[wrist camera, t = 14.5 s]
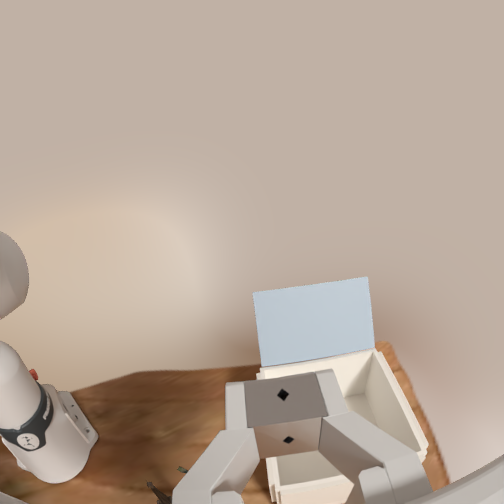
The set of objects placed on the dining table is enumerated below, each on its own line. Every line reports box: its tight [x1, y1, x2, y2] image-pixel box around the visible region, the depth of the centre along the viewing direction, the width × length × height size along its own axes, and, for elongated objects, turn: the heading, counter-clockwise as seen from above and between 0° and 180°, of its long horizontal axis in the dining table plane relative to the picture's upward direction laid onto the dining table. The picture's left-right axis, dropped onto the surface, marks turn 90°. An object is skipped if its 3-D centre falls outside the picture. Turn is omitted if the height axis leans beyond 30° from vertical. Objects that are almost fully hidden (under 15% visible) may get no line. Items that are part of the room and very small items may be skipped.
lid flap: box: [253, 277, 375, 367], centre depth 45 cm, size 11×17×1 cm
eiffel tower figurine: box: [146, 467, 188, 504], centre depth 29 cm, size 15×10×13 cm
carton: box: [256, 348, 429, 504], centre depth 37 cm, size 21×19×11 cm
